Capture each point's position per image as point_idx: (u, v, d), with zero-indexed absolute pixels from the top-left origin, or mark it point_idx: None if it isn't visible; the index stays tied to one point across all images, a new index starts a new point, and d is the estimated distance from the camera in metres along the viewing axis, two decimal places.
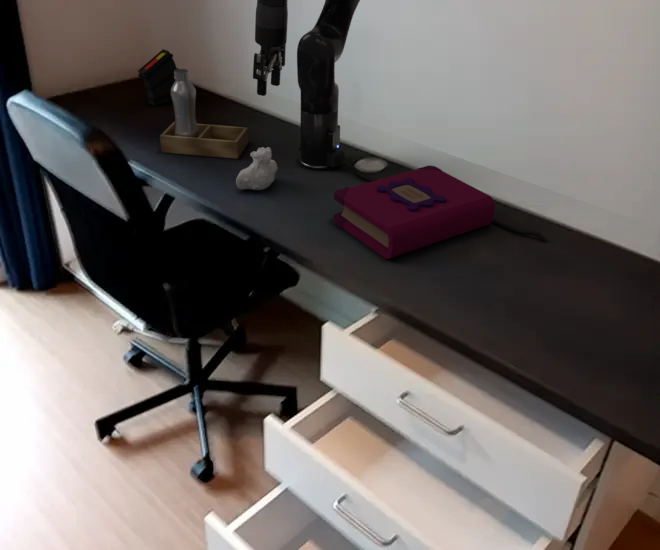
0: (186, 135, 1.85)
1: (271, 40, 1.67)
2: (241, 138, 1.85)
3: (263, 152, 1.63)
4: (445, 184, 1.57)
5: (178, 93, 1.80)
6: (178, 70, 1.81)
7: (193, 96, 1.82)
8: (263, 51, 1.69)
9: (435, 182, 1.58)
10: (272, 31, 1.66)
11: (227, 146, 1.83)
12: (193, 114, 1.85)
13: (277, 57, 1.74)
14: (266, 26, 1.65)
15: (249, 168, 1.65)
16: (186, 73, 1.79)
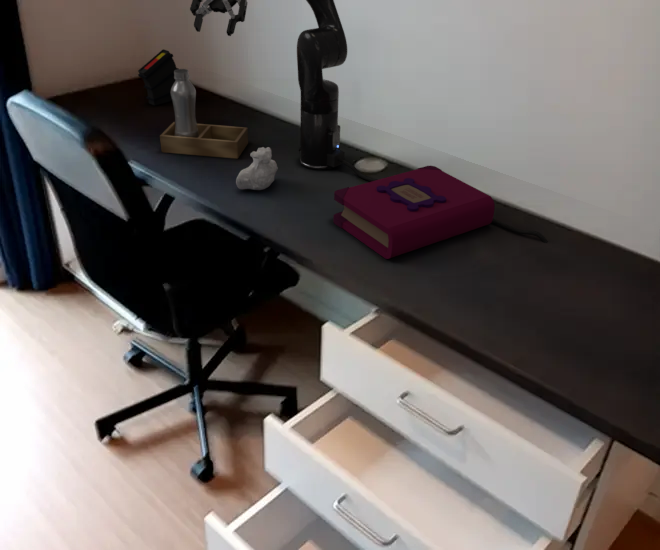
0: (186, 135, 1.85)
1: None
2: (241, 138, 1.85)
3: (263, 152, 1.63)
4: (445, 184, 1.57)
5: (178, 93, 1.80)
6: (178, 70, 1.81)
7: (193, 96, 1.82)
8: None
9: (435, 182, 1.58)
10: None
11: (227, 146, 1.83)
12: (193, 114, 1.85)
13: (222, 1, 1.85)
14: None
15: (249, 168, 1.65)
16: (186, 73, 1.79)
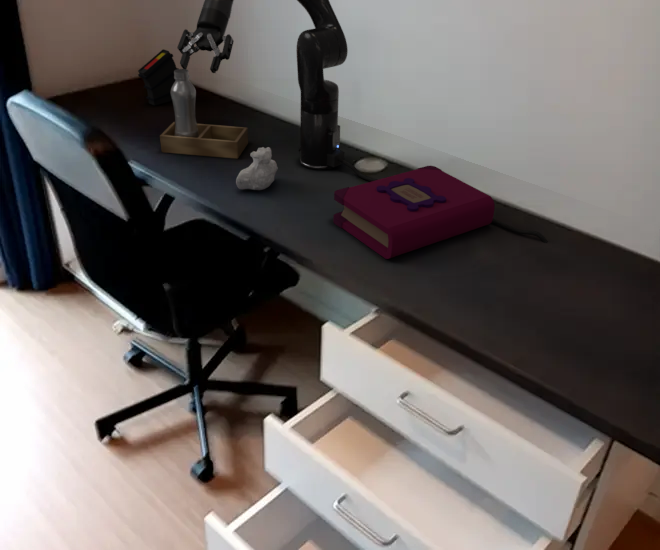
0: (186, 135, 1.85)
1: (198, 20, 1.89)
2: (241, 138, 1.85)
3: (263, 152, 1.63)
4: (445, 184, 1.57)
5: (178, 93, 1.80)
6: (178, 70, 1.81)
7: (193, 96, 1.82)
8: None
9: (435, 182, 1.58)
10: (200, 13, 1.89)
11: (227, 146, 1.83)
12: (193, 114, 1.85)
13: (208, 39, 1.87)
14: None
15: (249, 168, 1.65)
16: (186, 73, 1.79)
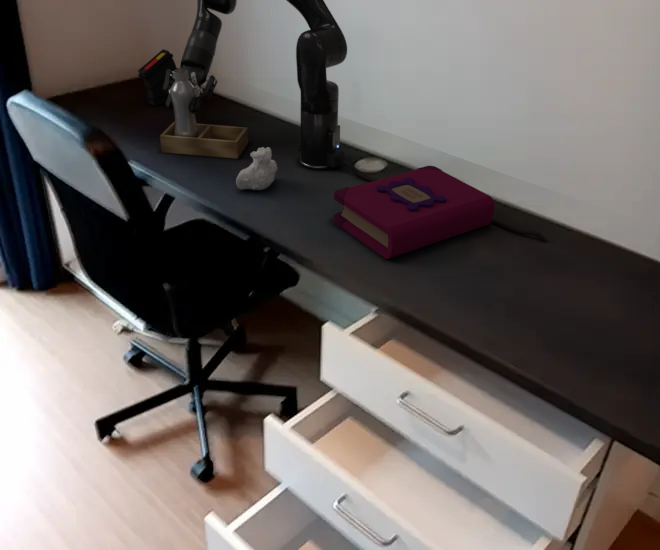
0: (186, 135, 1.85)
1: None
2: (241, 138, 1.85)
3: (263, 152, 1.63)
4: (445, 184, 1.57)
5: (178, 93, 1.80)
6: (178, 70, 1.81)
7: (193, 96, 1.82)
8: None
9: (435, 182, 1.58)
10: (184, 50, 1.86)
11: (227, 146, 1.83)
12: (193, 114, 1.85)
13: None
14: None
15: (249, 168, 1.65)
16: (186, 73, 1.79)
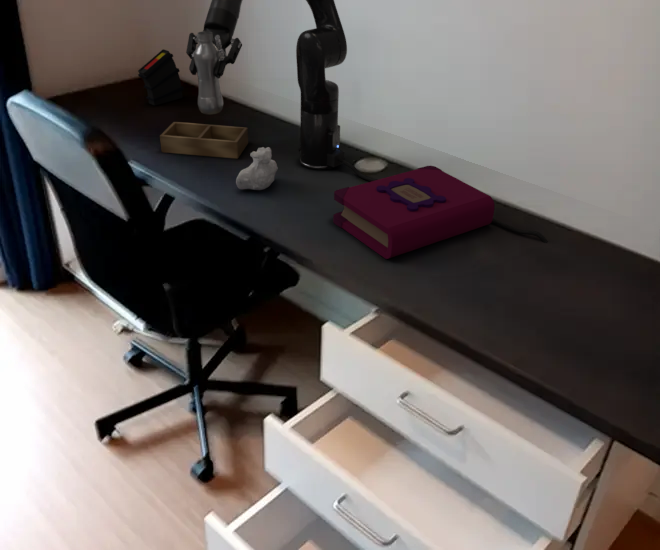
0: (210, 100, 1.79)
1: (205, 21, 1.79)
2: (241, 138, 1.85)
3: (263, 152, 1.63)
4: (445, 184, 1.57)
5: (202, 56, 1.74)
6: (201, 32, 1.75)
7: (217, 59, 1.76)
8: None
9: (435, 182, 1.58)
10: None
11: (227, 146, 1.83)
12: (217, 78, 1.78)
13: None
14: None
15: (249, 168, 1.65)
16: (210, 35, 1.73)
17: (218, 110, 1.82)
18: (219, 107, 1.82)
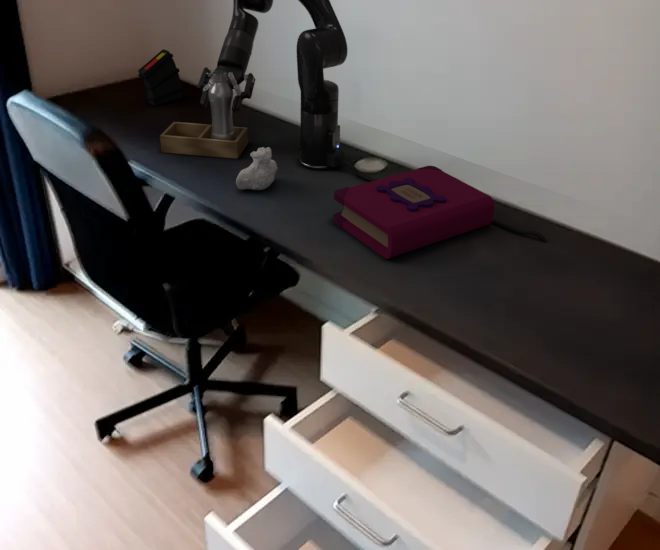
0: (223, 137, 1.84)
1: None
2: (241, 138, 1.85)
3: (263, 152, 1.63)
4: (445, 184, 1.57)
5: (216, 95, 1.78)
6: (216, 72, 1.80)
7: (231, 98, 1.81)
8: None
9: (435, 182, 1.58)
10: (221, 50, 1.84)
11: (227, 146, 1.83)
12: (230, 116, 1.83)
13: (229, 78, 1.82)
14: None
15: (249, 168, 1.65)
16: (224, 75, 1.78)
17: None
18: None
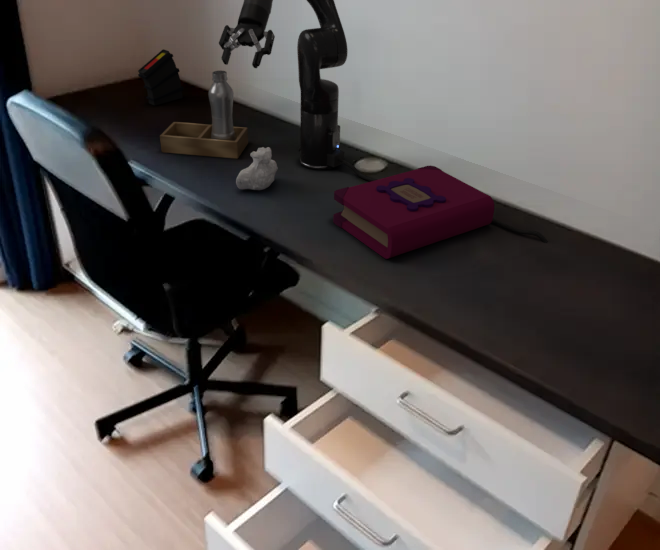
0: (223, 137, 1.84)
1: (239, 16, 1.90)
2: (241, 138, 1.85)
3: (263, 152, 1.63)
4: (445, 184, 1.57)
5: (216, 94, 1.79)
6: (216, 72, 1.80)
7: (231, 98, 1.81)
8: None
9: (435, 182, 1.58)
10: (241, 9, 1.90)
11: (227, 146, 1.83)
12: (230, 116, 1.83)
13: (250, 35, 1.88)
14: None
15: (249, 168, 1.65)
16: (224, 75, 1.78)
17: None
18: None
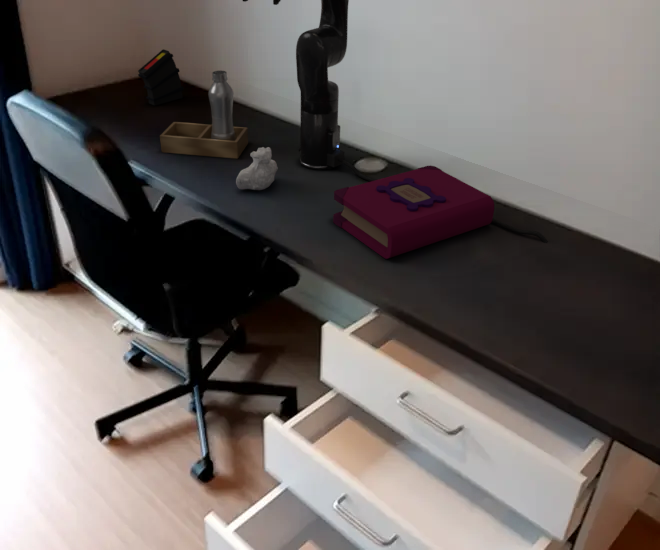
0: (223, 137, 1.84)
1: None
2: (241, 138, 1.85)
3: (263, 152, 1.63)
4: (445, 184, 1.57)
5: (216, 94, 1.79)
6: (216, 72, 1.80)
7: (231, 98, 1.81)
8: None
9: (435, 182, 1.58)
10: None
11: (227, 146, 1.83)
12: (230, 116, 1.83)
13: None
14: None
15: (249, 168, 1.65)
16: (224, 75, 1.78)
17: None
18: None
